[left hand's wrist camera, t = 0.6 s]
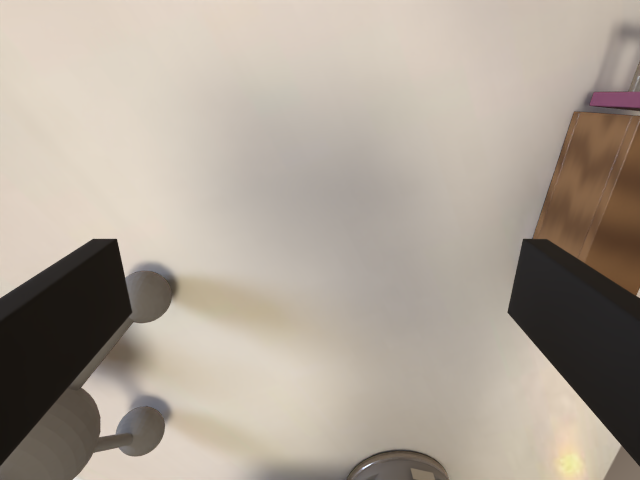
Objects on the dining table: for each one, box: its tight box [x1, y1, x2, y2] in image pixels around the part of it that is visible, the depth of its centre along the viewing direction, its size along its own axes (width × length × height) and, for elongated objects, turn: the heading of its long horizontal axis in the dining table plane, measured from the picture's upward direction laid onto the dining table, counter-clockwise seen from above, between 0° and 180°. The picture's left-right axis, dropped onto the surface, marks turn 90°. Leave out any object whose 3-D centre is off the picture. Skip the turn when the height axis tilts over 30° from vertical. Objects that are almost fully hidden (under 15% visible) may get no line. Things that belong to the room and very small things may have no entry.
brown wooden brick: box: [533, 112, 640, 296], centre depth 36 cm, size 19×6×8 cm, turn 174°
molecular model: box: [0, 271, 172, 480], centre depth 31 cm, size 24×22×30 cm
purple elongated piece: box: [590, 62, 640, 111], centre depth 34 cm, size 24×5×6 cm, turn 174°
